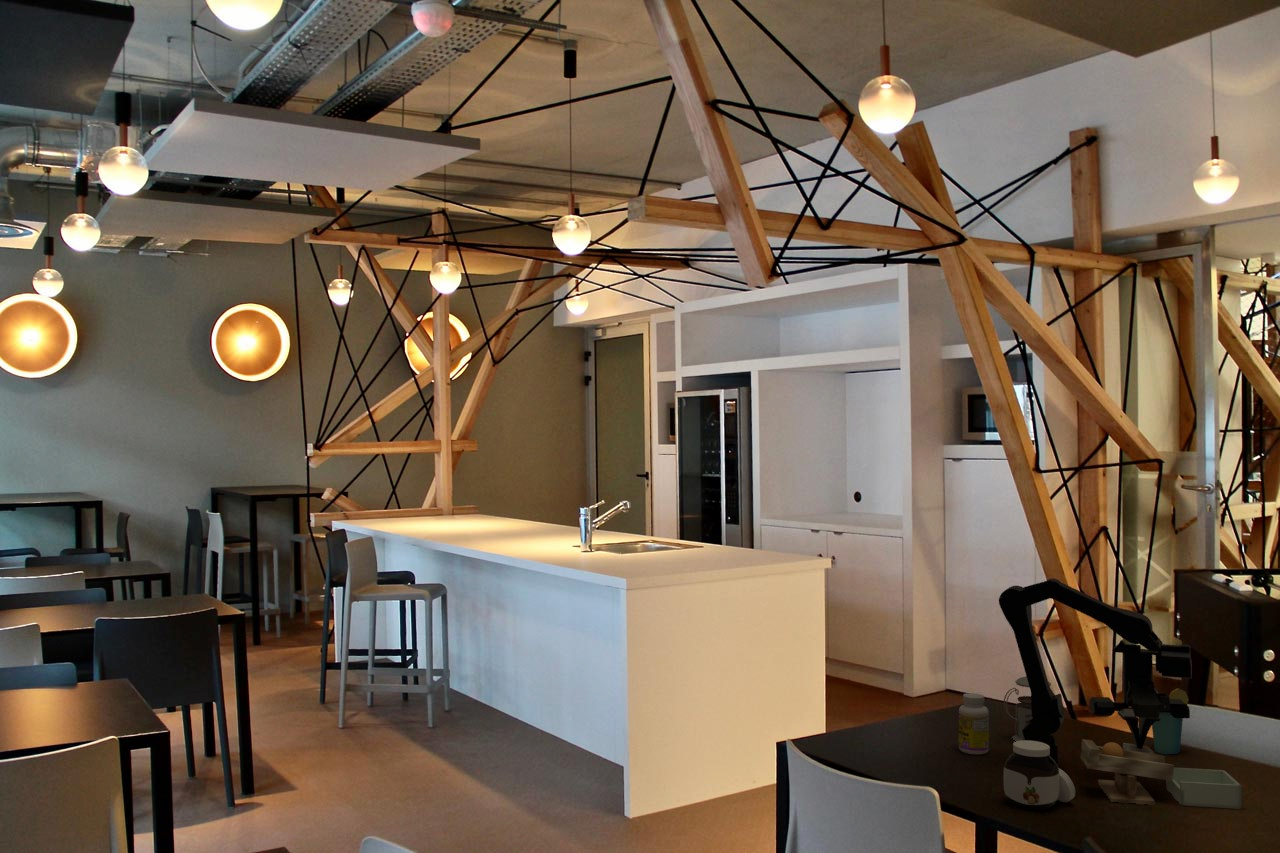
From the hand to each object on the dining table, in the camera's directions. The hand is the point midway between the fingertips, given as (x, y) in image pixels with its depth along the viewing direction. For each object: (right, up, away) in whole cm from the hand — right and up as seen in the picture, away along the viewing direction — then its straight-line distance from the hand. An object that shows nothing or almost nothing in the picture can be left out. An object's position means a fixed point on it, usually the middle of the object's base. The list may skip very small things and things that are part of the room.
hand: (1139, 748), depth 230 cm
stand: (-7, -6, -10) cm, 14 cm away
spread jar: (-27, -7, -15) cm, 31 cm away
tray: (+7, -6, -13) cm, 16 cm away
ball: (-10, +2, -9) cm, 14 cm away
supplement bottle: (-29, -7, +20) cm, 36 cm away
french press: (-13, -7, +29) cm, 32 cm away
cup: (+15, -7, +19) cm, 25 cm away
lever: (-6, -1, -5) cm, 8 cm away
